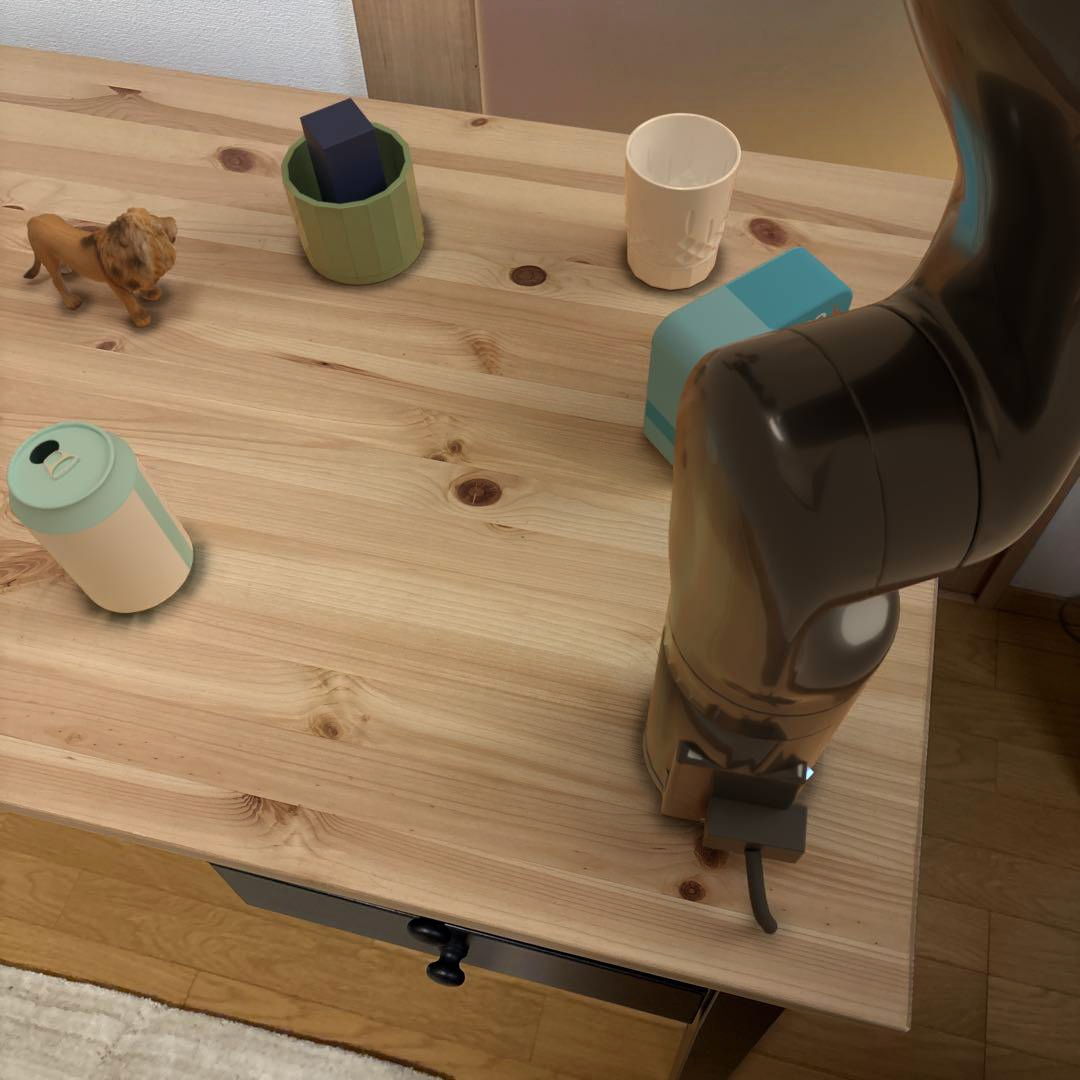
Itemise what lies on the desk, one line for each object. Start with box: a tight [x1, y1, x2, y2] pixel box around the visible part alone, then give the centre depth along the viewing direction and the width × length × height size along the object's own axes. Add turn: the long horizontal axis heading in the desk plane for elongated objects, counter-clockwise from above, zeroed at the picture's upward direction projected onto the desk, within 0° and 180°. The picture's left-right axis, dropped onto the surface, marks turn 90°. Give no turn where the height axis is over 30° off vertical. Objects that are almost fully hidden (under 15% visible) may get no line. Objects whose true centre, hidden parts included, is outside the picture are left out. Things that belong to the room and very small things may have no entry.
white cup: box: [624, 112, 742, 291], centre depth 73 cm, size 8×8×10 cm
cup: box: [280, 121, 425, 286], centre depth 76 cm, size 9×9×8 cm
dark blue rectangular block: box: [299, 97, 387, 204], centre depth 74 cm, size 4×4×10 cm
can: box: [5, 420, 194, 614], centre depth 59 cm, size 7×7×12 cm
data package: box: [642, 246, 854, 467], centre depth 64 cm, size 12×4×12 cm, turn 123°
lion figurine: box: [22, 206, 179, 328], centre depth 73 cm, size 15×5×9 cm, turn 77°
